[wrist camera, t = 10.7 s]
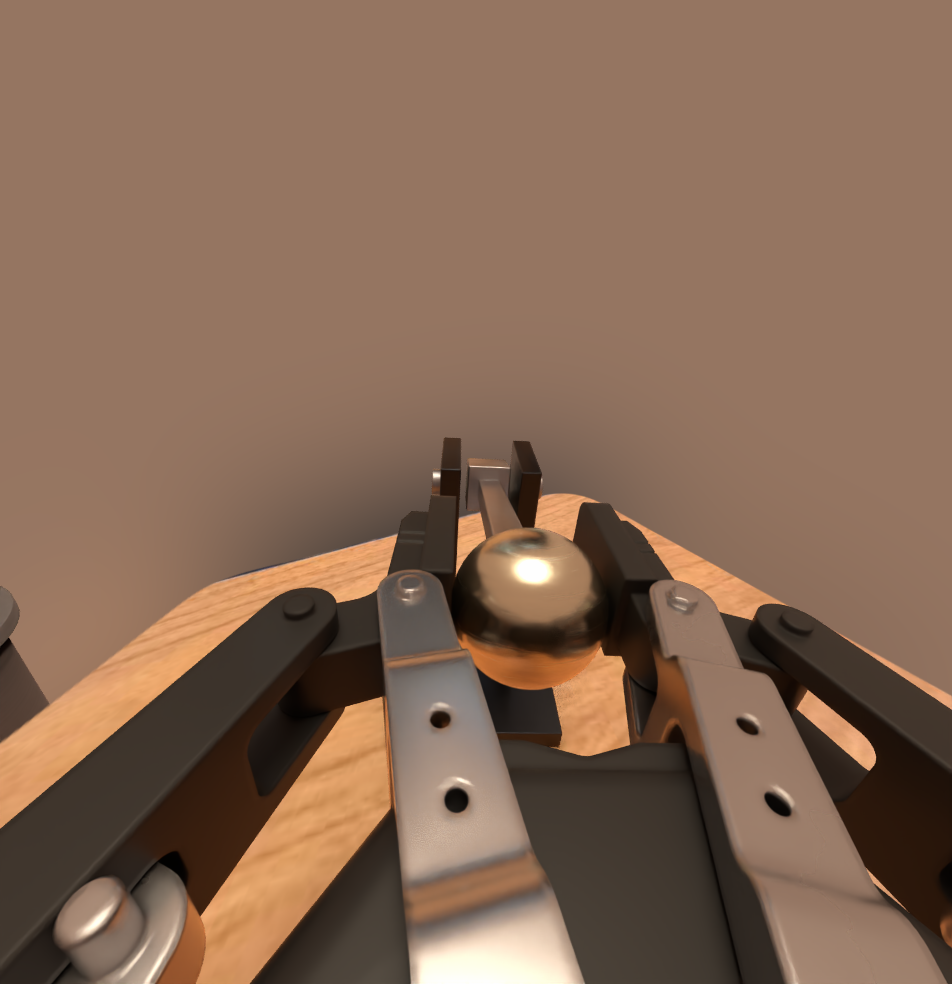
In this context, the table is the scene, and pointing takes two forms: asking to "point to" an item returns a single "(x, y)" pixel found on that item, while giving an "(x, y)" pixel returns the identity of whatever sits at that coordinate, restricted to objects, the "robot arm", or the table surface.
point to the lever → (524, 593)
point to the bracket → (508, 706)
